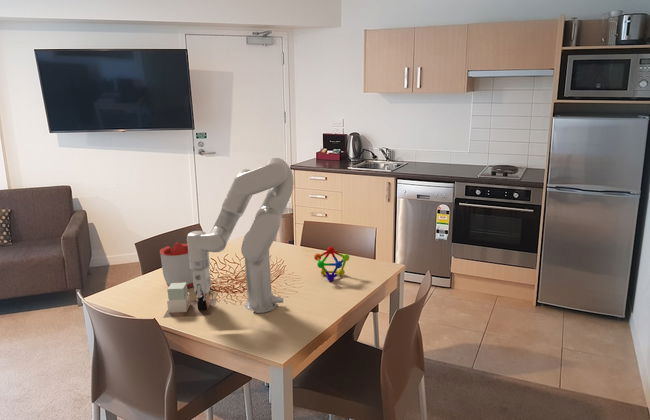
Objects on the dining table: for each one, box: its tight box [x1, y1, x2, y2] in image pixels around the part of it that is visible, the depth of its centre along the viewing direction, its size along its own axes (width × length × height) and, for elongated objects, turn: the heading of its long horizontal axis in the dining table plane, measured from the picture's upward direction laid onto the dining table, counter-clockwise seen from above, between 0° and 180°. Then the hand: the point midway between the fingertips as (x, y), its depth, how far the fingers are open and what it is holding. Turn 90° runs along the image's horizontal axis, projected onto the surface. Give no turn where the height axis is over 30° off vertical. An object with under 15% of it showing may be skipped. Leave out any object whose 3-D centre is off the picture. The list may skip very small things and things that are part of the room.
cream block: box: [166, 292, 191, 313], centre depth 205 cm, size 7×7×5 cm
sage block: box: [167, 282, 189, 300], centre depth 204 cm, size 6×6×4 cm
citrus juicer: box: [159, 242, 194, 289], centre depth 230 cm, size 16×17×20 cm
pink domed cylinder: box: [195, 292, 211, 309], centre depth 205 cm, size 5×5×5 cm
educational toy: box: [313, 246, 350, 282], centre depth 231 cm, size 16×13×15 cm
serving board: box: [162, 298, 218, 318], centre depth 206 cm, size 18×15×1 cm
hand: (204, 306), depth 206 cm, fingers closed on pink domed cylinder, 5 cm apart
